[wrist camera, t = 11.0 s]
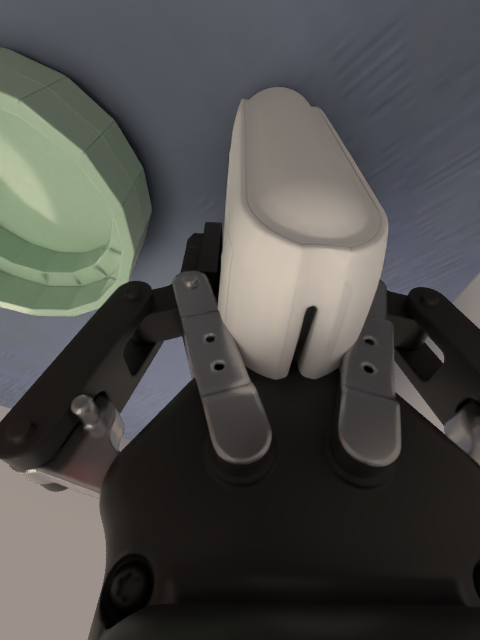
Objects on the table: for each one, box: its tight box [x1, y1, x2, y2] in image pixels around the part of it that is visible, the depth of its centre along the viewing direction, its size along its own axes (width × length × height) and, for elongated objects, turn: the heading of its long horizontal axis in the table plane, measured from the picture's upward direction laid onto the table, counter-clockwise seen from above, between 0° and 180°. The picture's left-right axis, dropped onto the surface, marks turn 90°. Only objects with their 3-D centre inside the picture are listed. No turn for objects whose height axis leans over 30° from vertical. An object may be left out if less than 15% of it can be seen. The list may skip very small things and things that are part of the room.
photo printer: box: [217, 87, 388, 380], centre depth 13 cm, size 10×4×12 cm, turn 174°
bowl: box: [0, 48, 152, 316], centre depth 16 cm, size 12×12×5 cm
